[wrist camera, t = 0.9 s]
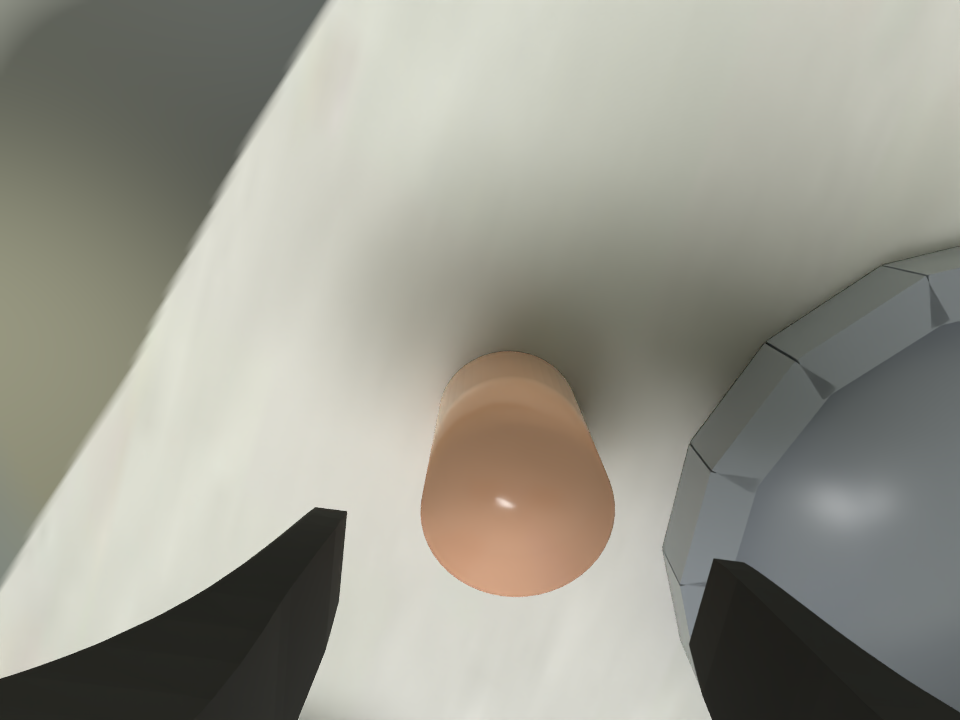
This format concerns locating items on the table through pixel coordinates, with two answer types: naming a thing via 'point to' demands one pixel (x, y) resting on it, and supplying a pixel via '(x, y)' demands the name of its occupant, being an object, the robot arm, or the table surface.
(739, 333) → the table surface
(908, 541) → the round tray
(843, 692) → the robot arm
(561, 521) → the terracotta rounded cylinder
